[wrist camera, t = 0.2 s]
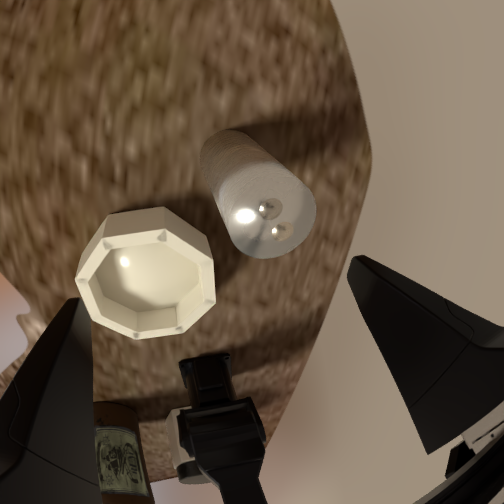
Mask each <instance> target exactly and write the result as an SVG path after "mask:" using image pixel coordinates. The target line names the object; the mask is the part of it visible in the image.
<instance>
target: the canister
mask: <svg viewBox="0 0 504 504" xmlns="http://www.w3.org/2000/svg"><path fill="white" fill-rule="evenodd" d="M200 165H201V168H202V170H203V173H204V175H205V178H206V180H207V182H208V185H209V187H210V190H211V192H212V194H213V197H214V199H215V202H216V204H217V206H218V209H219V211H220V214H221V216H222V218H223V221H224V223H225V226H226V228H227V230H228V233H229V235H230V237H231V240H232V242H233V243H234V245H235V246H236V247H237V248H238V249H239V250H240V251H241V252H243V253H244V254H246V255H248V256H251V257H254V258H261V259H267V258H274V257H278V256H281V255H284V254H286V253H288V252H290V251H291V250H293V249H294V248H296V247H297V246H298V245H299V244H301V243H302V242H303V241H304V239H305V238H306V237H307V236H308V234H309V233H310V231H311V229H312V227H313V225H314V222H315V218H316V202H315V199H314V196H313V194H312V192H311V191H310V190H309V188H308V187H307V186H306V185H305V184H303V183H302V182H301V181H300V180H299V179H298V178H297V177H296V176H295V175H293V174H292V173H291V172H290V171H289V170H288V169H287V168H286V167H284V166H283V165H282V164H281V163H280V162H279V161H277V160H276V159H275V158H274V157H273V156H272V155H270V154H269V153H268V152H267V151H266V150H265V149H263V148H262V147H261V146H260V145H259V144H257V143H256V142H255V141H254V140H253V139H251V138H250V137H249V136H248V135H246V134H245V133H243V132H241V131H238V130H223V131H220V132H217V133H215V134H214V135H212V136H211V137H210V138H209V139H208V140H207V141H206V142H205V144H204V145H203V147H202V150H201V153H200Z"/></svg>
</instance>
